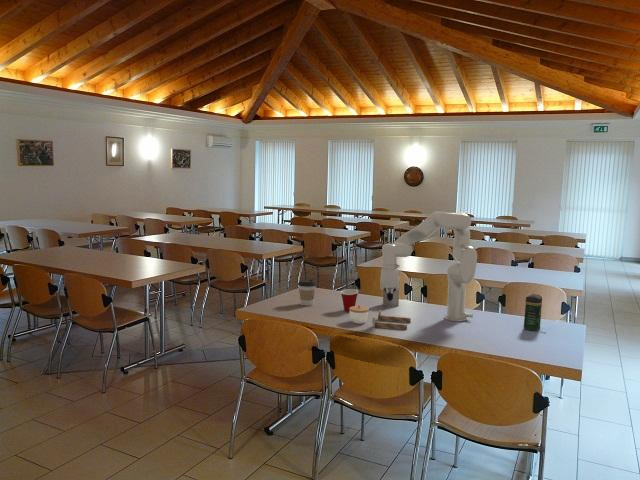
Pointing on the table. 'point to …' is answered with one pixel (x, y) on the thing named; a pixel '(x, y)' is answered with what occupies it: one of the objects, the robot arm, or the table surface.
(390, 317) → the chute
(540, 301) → the coffee jar
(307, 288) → the coffee cup
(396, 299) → the pillar candle
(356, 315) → the lidded jar
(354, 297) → the plastic cup
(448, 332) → the table surface
